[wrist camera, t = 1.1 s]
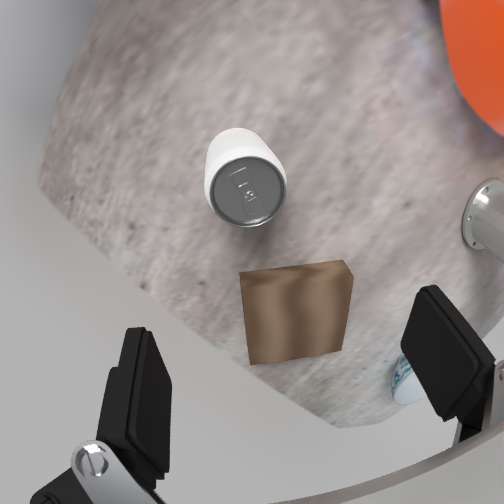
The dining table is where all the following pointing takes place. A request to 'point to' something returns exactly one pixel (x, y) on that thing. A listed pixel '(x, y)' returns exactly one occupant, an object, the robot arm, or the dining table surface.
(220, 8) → the dining table surface
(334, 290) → the base
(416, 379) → the chinaware
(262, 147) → the can
